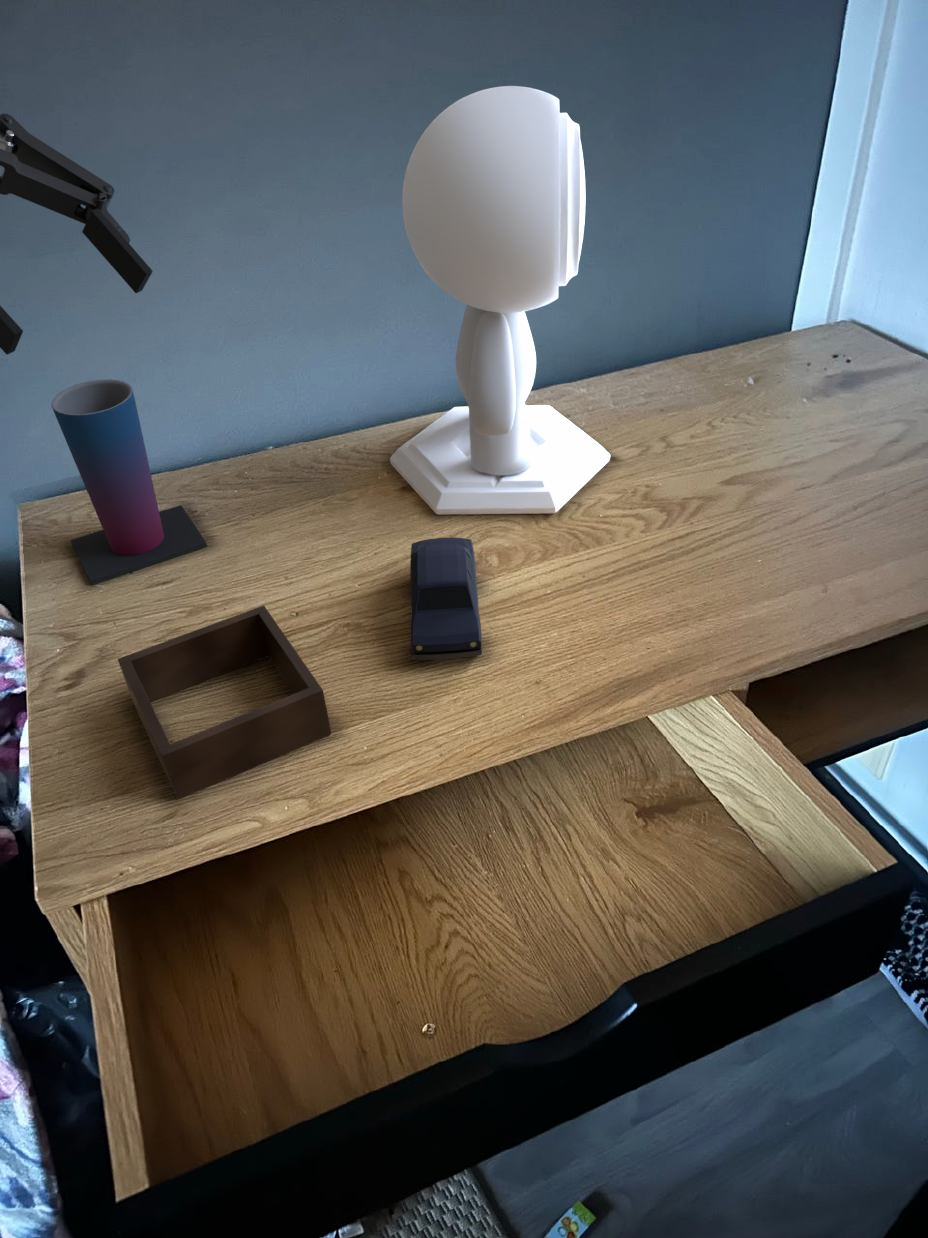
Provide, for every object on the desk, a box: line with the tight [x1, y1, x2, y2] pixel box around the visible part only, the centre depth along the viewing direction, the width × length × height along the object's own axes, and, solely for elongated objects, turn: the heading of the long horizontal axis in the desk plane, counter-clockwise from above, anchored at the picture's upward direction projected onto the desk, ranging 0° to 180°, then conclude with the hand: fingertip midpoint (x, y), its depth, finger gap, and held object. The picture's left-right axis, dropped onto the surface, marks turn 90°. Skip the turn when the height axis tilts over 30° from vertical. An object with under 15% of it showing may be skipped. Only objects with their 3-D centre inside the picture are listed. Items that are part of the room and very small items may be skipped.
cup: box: [50, 378, 164, 556], centre depth 89 cm, size 7×7×15 cm
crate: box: [117, 605, 332, 800], centre depth 73 cm, size 12×12×4 cm
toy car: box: [409, 537, 484, 661], centre depth 82 cm, size 6×15×5 cm, turn 2°
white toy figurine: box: [389, 85, 611, 515], centre depth 92 cm, size 20×23×35 cm
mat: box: [70, 504, 208, 586], centre depth 94 cm, size 11×8×1 cm
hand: (83, 311), depth 78 cm, fingers open, 13 cm apart
